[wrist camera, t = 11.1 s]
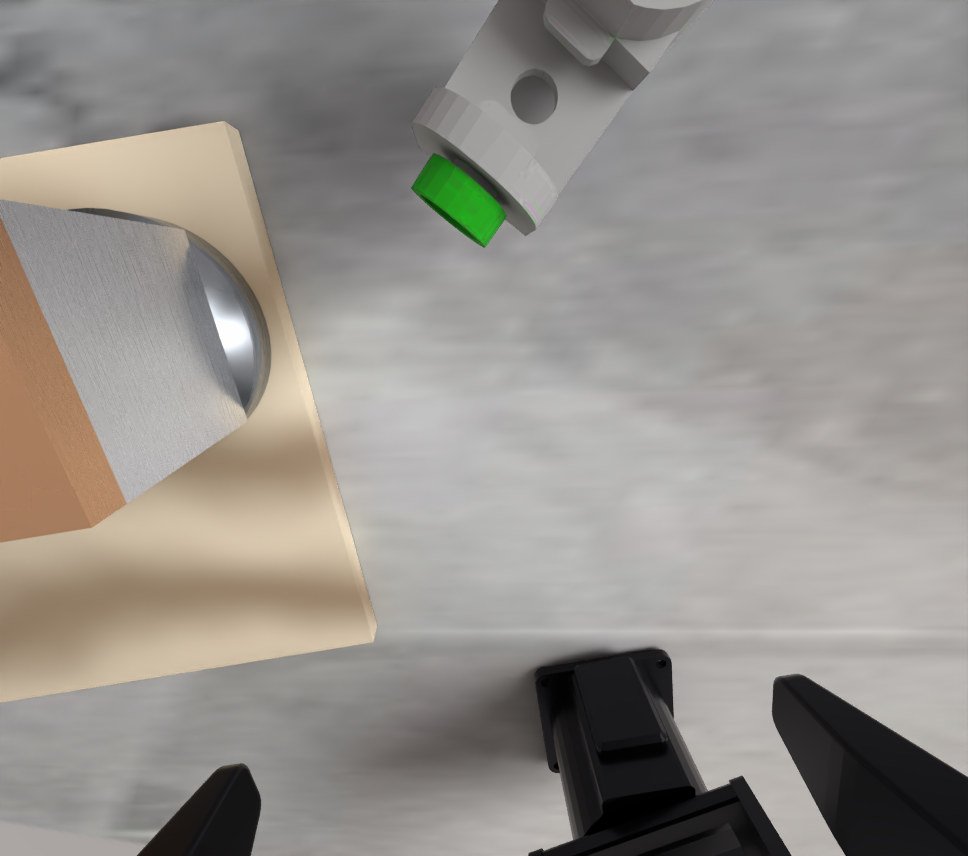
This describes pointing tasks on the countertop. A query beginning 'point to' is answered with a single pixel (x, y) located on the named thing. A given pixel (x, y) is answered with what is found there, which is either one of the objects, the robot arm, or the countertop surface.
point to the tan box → (100, 366)
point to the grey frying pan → (225, 312)
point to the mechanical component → (535, 104)
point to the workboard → (188, 473)
